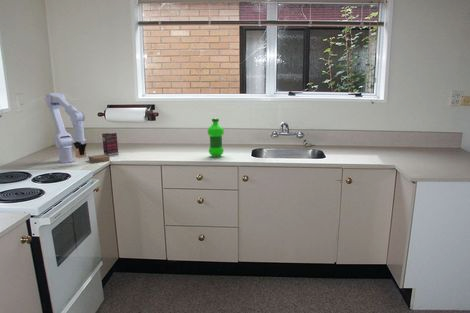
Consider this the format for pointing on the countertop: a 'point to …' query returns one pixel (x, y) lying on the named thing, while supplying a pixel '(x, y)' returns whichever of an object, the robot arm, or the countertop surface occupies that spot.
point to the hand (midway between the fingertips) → (80, 154)
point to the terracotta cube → (79, 153)
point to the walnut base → (99, 158)
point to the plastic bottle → (215, 138)
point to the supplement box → (110, 144)
